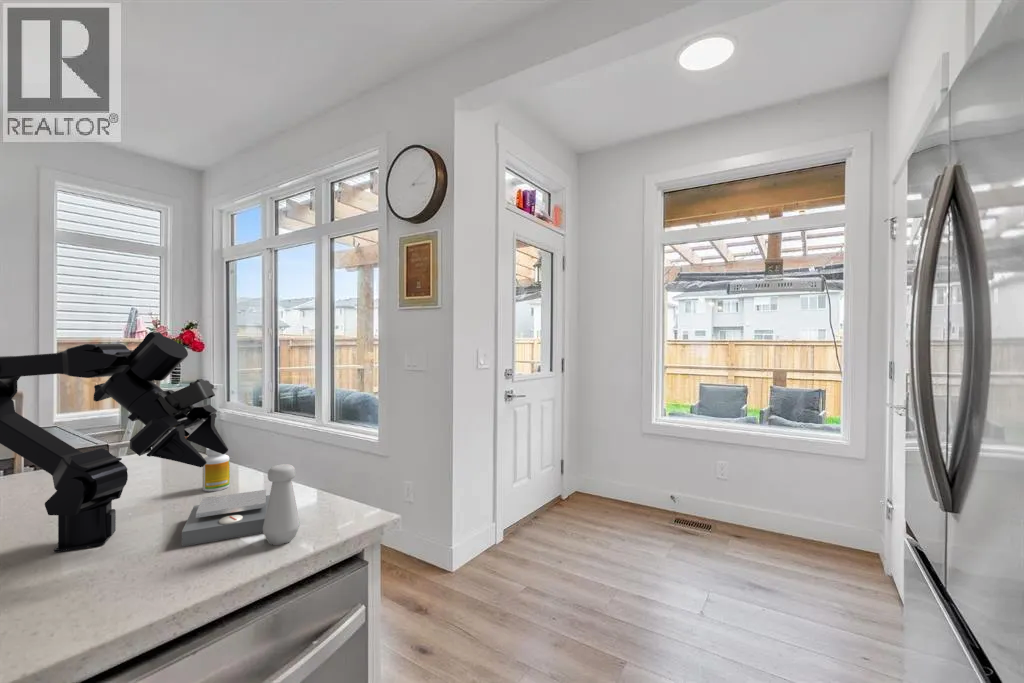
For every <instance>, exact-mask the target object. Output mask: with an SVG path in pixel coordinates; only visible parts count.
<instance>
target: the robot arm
mask: <svg viewBox="0 0 1024 683" xmlns="http://www.w3.org/2000/svg"><path fill="white" fill-rule="evenodd" d="M188 354H189V352H188V350H187V348H186V347H185V346H184V345H183V344H182V343H179V342H177V341H175V340H174V339H173V338H170V337H167V336H165V335H164V334H162V333H161V331H160V332H159V331H158V332H157V331H150V332H148V333H147V335H145V337H144V339H143V340H142V341H141V342H140V343H139V344H138V345H137V346H136V347H135V348H134V349H133V350H130V349H129V348H128V347H127V346H126V345H125V344H122V343H84V344H79V345H76V346H73V347H68V348H67V349H65V350H63V351H60V352H55V353H54V352H53V353H52V352H51V353H40V354H29V355H15V356H14V355H4V356H3V355H2V356H1V355H0V445H2V446H4V447H5V448H7V449H8V450H10V451H11V452H13V453H15V454H17V455H18V456H20V457H21V458H23V459H24V460H27V461H28V462H30V463H31V464H33V465H35V466H36V467H38V468H40V469H41V470H43V471H45V472H46V473H48V474H49V475H51V476H52V480H53V481H52V482H53V486H54V489H55V490H56V491H55V492H54V493H53V494H52V495H51V496H50V497H49V498H48V499H47V500H46V501H45V502H44V508H45V510H46V513H47V515H48V516H57V519H58V520H57V531H58V532H57V533H58V534H57V538H58V540H57V543H58V544H57V545H56V546H55V548H53V553H59V552H60V553H61V552H66V551H67V552H68V551H72V550H78V549H83V548H84V549H85V548H90V547H92V548H93V547H98V546H102V545H105V544H106V543H107V542H108V541H109V539H110V538H111V537H112V536H113V535H114V533H115V532H116V529H117V528H116V524H117V522H116V520H117V519H116V518H117V517H116V516H117V515H116V512H117V511H116V509H115V508H112V505H113V502H112V501H114V500H119V499H120V498H121V495H122V493H123V490H124V488H125V486H126V485H127V483H128V477H129V474H128V467H127V466H126V465H125V463H123V462H121V461H122V457H119V456H118V457H117V456H115V455H113V454H112V453H111V452H109V451H108V450H107V449H105V448H102V447H100V448H96V449H92V450H89V451H84V452H83V451H81V450H79V449H77V448H76V447H73V446H72V445H71V444H69V443H67V442H65V441H63V439H61V438H59V437H57V436H55V435H54V434H52V433H51V432H49V431H47V430H45V429H44V428H42V427H41V426H40V425H37V424H36V423H34V422H32V421H31V420H29V419H27V418H25V417H24V416H23V415H21V414H19V413H18V412H17V411H16V409H15V402H14V400H13V399H14V397H15V395H16V394H17V393H18V381H19V379H20V378H21V377H32V376H33V377H35V376H44V375H45V376H46V375H47V376H48V375H58V374H59V375H66V376H68V377H75V378H83V379H90V378H91V379H93V378H105V377H109V378H108V379H107V380H106V381H105V382H103V383H99V384H95V385H94V386H93V388H94V393H93V401H94V402H95V403H97V402H100V401H103V400H107V399H113V400H114V401H115V402H116V403H118V404H119V405H120V406H121V407H122V408H123V409H125V410H126V411H127V412H129V413H130V415H128V416H127V418H128V419H129V420H130V421H131V422H135V421H138V420H139V421H140V422H141V424H143V425H144V426H143V427H142V428H141V429H140V430H139V431H138V432H137V433H136V434H134V436H132V437H131V438H130V440H129V449H130V450H131V451H133V452H134V453H135V454H136V455H137V456H139V457H140V456H143V455H145V454H146V457H148V458H149V457H153V458H154V457H155V458H159V459H163V460H168V461H174V462H177V463H183V464H185V465H189V466H194V467H199V468H203V466H204V465H205V464H206V463H207V462H206V460H205V459H204V458H205V457H203V455H202V454H201V453H200V452H199V451H198V450H197V449H196V448H195V447H194V446H193V445H192V444H191V443H194V444H196V445H198V446H201V447H204V448H205V449H206V448H208V449H210V450H213V451H215V452H218V453H221V454H225V455H226V453H228V451H229V448H228V447H227V444H226V443H225V442H224V440H223V439H222V437H221V435H220V433H219V432H218V430H217V428H216V426H215V425H216V419H217V412H218V410H217V409H216V408H214V407H213V406H212V405H211V404H202V405H198V406H194V405H195V404H197V403H199V402H202V401H204V400H206V399H212V398H213V397H215V396H216V394H215V392H214V388H215V385H214V384H212V383H211V382H210V381H209V380H208V379H206V380H204V379H203V378H198V379H196V380H194V381H192V382H189V385H187V386H185V387H183V388H180V389H178V390H176V391H175V390H173V389H166V390H164V389H163V388H161V387H160V386H159V385H157V384H156V383H155V382H154V381H158V382H160V381H165V380H166V379H167V378H168V377H169V375H171V373H172V372H173V371H175V369H176V368H177V367H178V366H179V365H180V364H181V363H182V362H184V360H185V359H187V357H189V355H188Z"/></svg>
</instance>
